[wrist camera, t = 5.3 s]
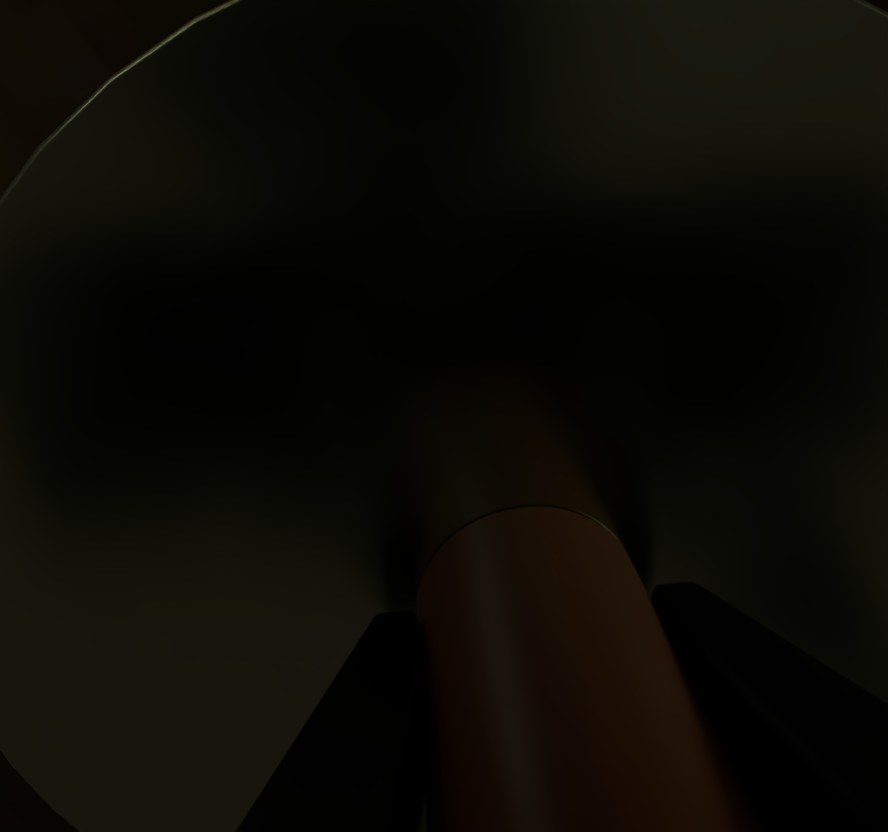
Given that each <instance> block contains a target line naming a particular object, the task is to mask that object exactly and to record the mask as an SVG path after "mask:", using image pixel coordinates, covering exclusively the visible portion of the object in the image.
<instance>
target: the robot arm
mask: <svg viewBox="0 0 888 832" xmlns="http://www.w3.org/2000/svg"><path fill="white" fill-rule="evenodd" d="M651 601H652V603H653V605H654V607H655V609H656V611H657V613H658V615H659V617H660V619H661V621H662V623H663V625H664V627H665V629H666V631H667V633H668V635H669V637H670V639H671V641H672V643H673V645H674V647H675V649H676V651H677V653H678V655H679V657H680V659H681V661H682V663H683V665H684V667H685V669H686V671H687V673H688V675H689V677H690V679H691V681H692V683H693V685H694V687H695V689H696V691H697V693H698V695H699V697H700V699H701V701H702V703H703V705H704V707H705V709H706V711H707V713H708V715H709V717H710V719H711V721H712V723H713V725H714V727H715V729H716V731H717V733H718V735H719V737H720V739H721V741H722V743H723V745H724V747H725V749H726V751H727V753H728V755H729V757H730V759H731V761H732V763H733V765H734V767H735V769H736V771H737V773H738V775H739V777H740V779H741V781H742V783H743V785H744V787H745V789H746V791H747V793H748V795H749V797H750V799H751V801H752V803H753V805H754V807H755V809H756V811H757V813H758V815H759V817H760V819H761V821H762V823H763V825H764V827H765V829H766V831H767V832H888V703H886V702H885V701H883V700H882V699H880V698H879V697H877V696H875V695H874V694H872V693H871V692H869V691H867V690H866V689H864V688H863V687H861V686H859V685H858V684H856V683H855V682H853V681H851V680H850V679H848V678H847V677H845V676H844V675H842V674H840V673H839V672H837V671H836V670H834V669H832V668H831V667H829V666H828V665H826V664H824V663H823V662H821V661H820V660H818V659H816V658H815V657H813V656H812V655H810V654H809V653H807V652H805V651H804V650H802V649H801V648H799V647H797V646H796V645H794V644H793V643H791V642H789V641H788V640H786V639H785V638H783V637H781V636H780V635H778V634H777V633H775V632H774V631H772V630H770V629H769V628H767V627H766V626H764V625H762V624H761V623H759V622H758V621H756V620H754V619H753V618H751V617H750V616H748V615H747V614H745V613H743V612H742V611H740V610H739V609H737V608H735V607H734V606H732V605H731V604H729V603H727V602H726V601H724V600H723V599H721V598H719V597H718V596H716V595H715V594H713V593H712V592H710V591H708V590H707V589H705V588H704V587H702V586H700V585H698V584H696V583H694V582H679V583H670V584H660V585H657V586H656V587H655V588H654V589H653V591H652V594H651ZM236 832H427V823H426V801H425V779H424V728H423V705H422V684H421V663H420V643H419V626H418V618H417V615H416V613H415V612H414V611H412V610H404V611H394V612H384V613H379V614H377V615H376V616H374V618H373V619H372V621H371V622H370V624H369V625H368V627H367V628H366V630H365V631H364V633H363V635H362V636H361V638H360V639H359V641H358V642H357V644H356V645H355V647H354V649H353V650H352V652H351V653H350V655H349V656H348V658H347V659H346V661H345V663H344V664H343V666H342V667H341V669H340V670H339V672H338V673H337V675H336V676H335V678H334V680H333V681H332V683H331V684H330V686H329V687H328V689H327V690H326V692H325V694H324V695H323V697H322V698H321V700H320V701H319V703H318V704H317V706H316V708H315V709H314V711H313V712H312V714H311V715H310V717H309V718H308V720H307V722H306V723H305V725H304V726H303V728H302V729H301V731H300V732H299V734H298V736H297V737H296V739H295V740H294V742H293V743H292V745H291V746H290V748H289V749H288V751H287V753H286V754H285V756H284V757H283V759H282V760H281V762H280V763H279V765H278V767H277V768H276V770H275V771H274V773H273V774H272V776H271V777H270V779H269V780H268V782H267V784H266V785H265V787H264V788H263V790H262V791H261V793H260V794H259V796H258V798H257V799H256V801H255V802H254V804H253V805H252V807H251V808H250V810H249V812H248V813H247V815H246V816H245V818H244V819H243V821H242V822H241V824H240V825H239V827H238V829H237V830H236Z"/></svg>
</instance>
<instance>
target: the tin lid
mask: <svg viewBox="0 0 888 832" xmlns="http://www.w3.org/2000/svg"><path fill="white" fill-rule="evenodd" d="M679 582H694V583H696V584H698V585H700V586H702V587H704V588H705V589H707V590H708V591H710V592H712V593H713V594H715V595H716V596H718V597H719V598H721V599H723V600H724V601H726V602H727V603H729V604H731V605H732V606H734V607H735V608H737V609H739V610H740V611H742V612H743V613H745V614H747V615H748V616H750V617H751V618H753V619H754V620H756V621H758V622H759V623H761V624H762V625H764V626H766V627H767V628H769V629H770V630H772V631H774V632H775V633H777V634H778V635H780V636H781V637H783V638H785V639H786V640H788V641H789V642H791V643H793V644H794V645H796V646H797V647H799V648H801V649H802V650H804V651H805V652H807V653H809V654H810V655H812V656H813V657H815V658H816V659H818V660H820V661H821V662H823V663H824V664H826V665H828V666H829V667H831V668H832V669H834V670H836V671H837V672H839V673H840V674H842V675H844V676H845V677H847V678H848V679H850V680H851V681H853V682H855V683H856V684H858V685H859V686H861V687H863V688H864V689H866V690H867V691H869V692H871V693H872V694H874V695H875V696H877V697H879V698H880V699H882V700H883V701H885V702H886V703H888V12H887V11H885V10H883V9H881V8H880V7H878V6H876V5H874V4H872V3H870V2H868V1H866V0H225V1H223V2H221V3H219V4H217V5H215V6H213V7H211V8H209V9H207V10H205V11H203V12H201V13H199V14H197V15H195V16H193V17H192V18H190V19H189V20H188V21H186V22H185V23H183V24H182V25H181V26H179V27H178V28H176V29H175V30H173V31H172V32H171V33H169V34H168V35H166V36H165V37H164V38H162V39H161V40H159V41H158V42H156V43H155V44H154V45H152V46H151V47H149V48H148V49H146V50H145V51H144V52H142V53H141V54H139V55H138V56H137V57H135V58H134V59H132V60H131V61H129V62H128V63H127V64H125V65H124V66H122V67H121V68H119V69H118V70H117V71H115V72H114V73H112V74H111V75H110V76H109V77H108V78H106V79H105V80H104V81H103V82H102V83H101V84H100V85H99V86H98V87H97V88H96V89H95V90H94V91H93V92H92V93H91V94H90V95H89V96H88V97H87V98H86V99H85V100H84V101H83V102H82V103H81V104H80V105H79V106H78V107H77V108H76V109H75V110H74V111H72V112H71V113H70V114H69V115H68V116H67V117H66V118H65V119H64V120H63V121H62V122H61V123H60V124H59V125H58V126H57V127H56V128H55V129H54V130H53V131H52V132H51V133H50V134H49V135H48V136H47V137H46V138H45V139H44V140H43V141H42V142H41V143H40V144H39V145H38V146H37V147H36V149H35V150H34V151H33V153H32V154H31V155H30V157H29V158H28V160H27V161H26V162H25V164H24V165H23V166H22V168H21V169H20V170H19V172H18V173H17V174H16V176H15V177H14V178H13V180H12V181H11V182H10V184H9V185H8V186H7V188H6V189H5V190H4V192H3V193H2V194H1V196H0V752H1V753H2V755H3V756H4V757H5V759H6V760H7V761H8V763H9V764H10V765H11V767H12V768H13V769H14V770H15V771H16V772H17V773H18V774H19V775H20V776H21V777H22V778H23V779H24V780H25V781H26V782H27V783H28V784H29V785H30V787H31V788H32V789H33V790H34V791H35V792H36V793H37V794H38V795H39V796H40V797H41V798H42V799H43V800H44V801H45V802H46V803H47V804H48V806H49V807H50V808H51V809H52V810H53V811H55V812H56V813H57V814H58V815H59V816H61V817H62V818H63V819H64V820H66V821H67V822H68V823H69V824H70V825H72V826H73V827H74V828H75V829H76V830H78V831H79V832H236V830H237V829H238V827H239V825H240V824H241V822H242V821H243V819H244V818H245V816H246V815H247V813H248V812H249V810H250V808H251V807H252V805H253V804H254V802H255V801H256V799H257V798H258V796H259V794H260V793H261V791H262V790H263V788H264V787H265V785H266V784H267V782H268V780H269V779H270V777H271V776H272V774H273V773H274V771H275V770H276V768H277V767H278V765H279V763H280V762H281V760H282V759H283V757H284V756H285V754H286V753H287V751H288V749H289V748H290V746H291V745H292V743H293V742H294V740H295V739H296V737H297V736H298V734H299V732H300V731H301V729H302V728H303V726H304V725H305V723H306V722H307V720H308V718H309V717H310V715H311V714H312V712H313V711H314V709H315V708H316V706H317V704H318V703H319V701H320V700H321V698H322V697H323V695H324V694H325V692H326V690H327V689H328V687H329V686H330V684H331V683H332V681H333V680H334V678H335V676H336V675H337V673H338V672H339V670H340V669H341V667H342V666H343V664H344V663H345V661H346V659H347V658H348V656H349V655H350V653H351V652H352V650H353V649H354V647H355V645H356V644H357V642H358V641H359V639H360V638H361V636H362V635H363V633H364V631H365V630H366V628H367V627H368V625H369V624H370V622H371V621H372V619H373V618H374V616H376V615H377V614H379V613H384V612H394V611H404V610H412V611H414V612H415V613H416V615H417V618H418V626H419V643H420V663H421V684H422V705H423V728H424V779H425V801H426V823H427V832H767V831H766V829H765V827H764V825H763V823H762V821H761V819H760V817H759V815H758V813H757V811H756V809H755V807H754V805H753V803H752V801H751V799H750V797H749V795H748V793H747V791H746V789H745V787H744V785H743V783H742V781H741V779H740V777H739V775H738V773H737V771H736V769H735V767H734V765H733V763H732V761H731V759H730V757H729V755H728V753H727V751H726V749H725V747H724V745H723V743H722V741H721V739H720V737H719V735H718V733H717V731H716V729H715V727H714V725H713V723H712V721H711V719H710V717H709V715H708V713H707V711H706V709H705V707H704V705H703V703H702V701H701V699H700V697H699V695H698V693H697V691H696V689H695V687H694V685H693V683H692V681H691V679H690V677H689V675H688V673H687V671H686V669H685V667H684V665H683V663H682V661H681V659H680V657H679V655H678V653H677V651H676V649H675V647H674V645H673V643H672V641H671V639H670V637H669V635H668V633H667V631H666V629H665V627H664V625H663V623H662V621H661V619H660V617H659V615H658V613H657V611H656V609H655V607H654V605H653V603H652V601H651V594H652V591H653V589H654V588H655V587H656V586H657V585H660V584H670V583H679Z"/></svg>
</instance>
